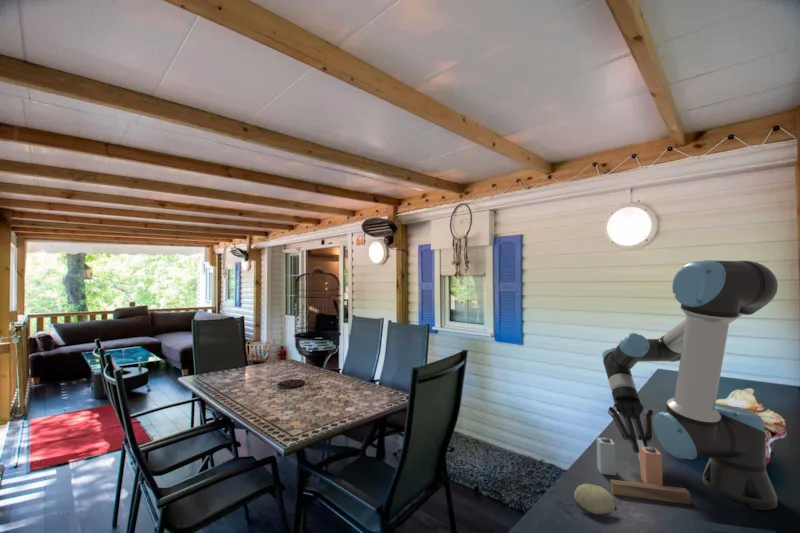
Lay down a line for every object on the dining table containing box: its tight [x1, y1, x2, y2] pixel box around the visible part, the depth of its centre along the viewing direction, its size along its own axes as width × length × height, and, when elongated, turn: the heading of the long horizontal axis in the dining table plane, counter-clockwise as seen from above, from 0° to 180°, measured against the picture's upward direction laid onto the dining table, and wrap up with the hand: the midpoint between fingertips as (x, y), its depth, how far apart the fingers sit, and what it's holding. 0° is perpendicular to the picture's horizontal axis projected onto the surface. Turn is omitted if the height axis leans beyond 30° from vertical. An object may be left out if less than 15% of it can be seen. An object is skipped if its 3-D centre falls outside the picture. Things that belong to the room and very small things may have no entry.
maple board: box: [609, 479, 691, 505], centre depth 104 cm, size 16×18×4 cm
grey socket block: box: [596, 436, 617, 476], centre depth 111 cm, size 4×4×10 cm
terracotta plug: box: [639, 445, 664, 486], centre depth 105 cm, size 4×4×10 cm
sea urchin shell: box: [573, 483, 616, 515], centre depth 95 cm, size 9×8×8 cm
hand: (645, 464), depth 108 cm, fingers closed
